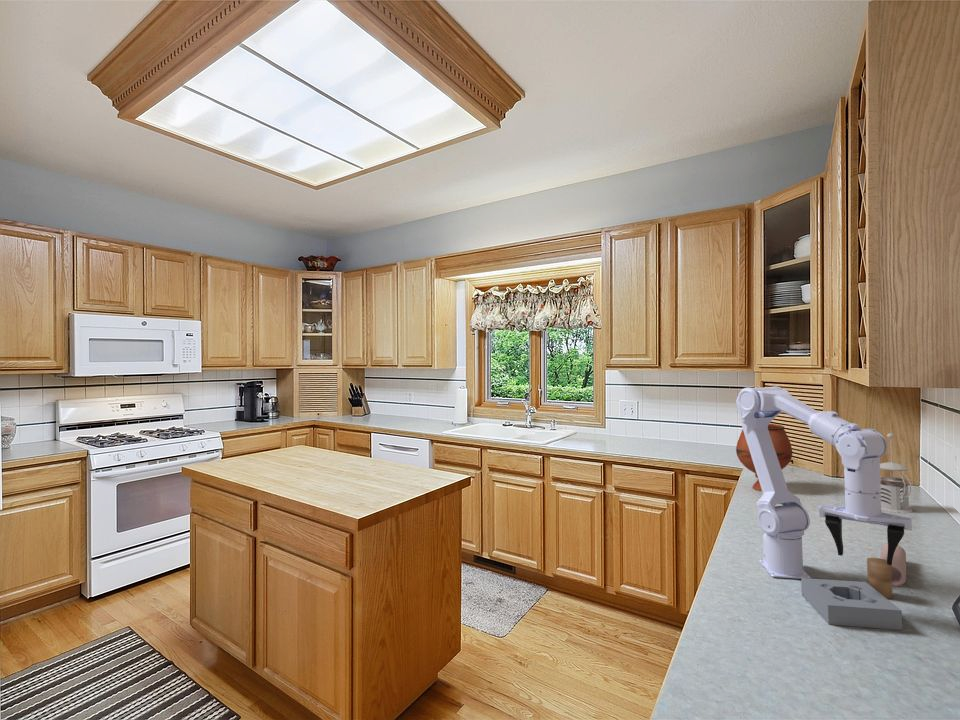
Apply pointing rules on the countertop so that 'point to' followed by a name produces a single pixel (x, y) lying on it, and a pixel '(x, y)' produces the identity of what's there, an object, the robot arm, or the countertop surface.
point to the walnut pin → (880, 576)
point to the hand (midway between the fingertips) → (864, 558)
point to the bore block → (851, 604)
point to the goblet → (780, 446)
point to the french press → (894, 488)
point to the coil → (896, 564)
